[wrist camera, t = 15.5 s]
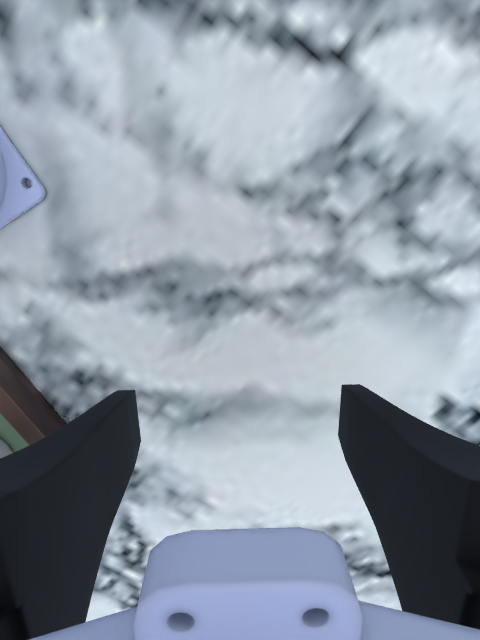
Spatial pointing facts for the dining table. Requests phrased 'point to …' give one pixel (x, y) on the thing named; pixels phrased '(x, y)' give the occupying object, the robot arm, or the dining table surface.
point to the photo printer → (4, 449)
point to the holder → (23, 409)
